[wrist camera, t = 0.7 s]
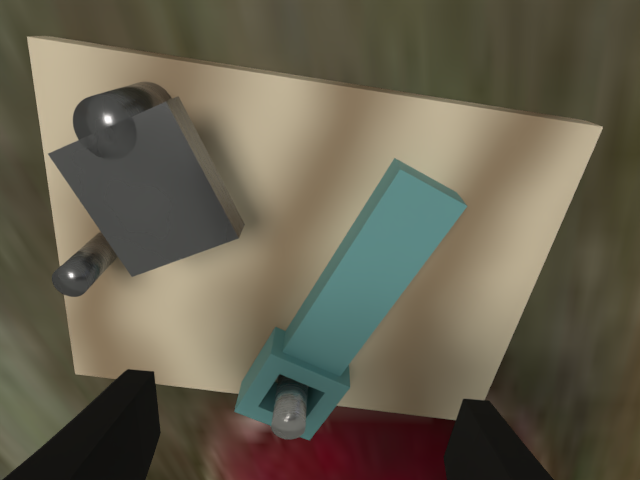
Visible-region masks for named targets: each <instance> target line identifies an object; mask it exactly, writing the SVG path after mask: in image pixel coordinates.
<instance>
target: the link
mask: <svg viewBox="0 0 640 480" xmlns="http://www.w3.org/2000/svg"><path fill="white" fill-rule="evenodd" d="M466 207H467V205H466V204H465V202H464V201H463V200H462V198H461V197H460V196H459V195H458V193H457V192H455V191H453V190H452V189H450V188H448V187H446V186H444V185H443V184H441V183H439V182H437V181H435V180H434V179H432V178H430V177H428V176H426V175H425V174H423V173H421V172H419V171H417V170H416V169H414V168H412V167H410V166H408V165H406V164H405V163H403V162H401V161H399V160H397V159H396V158H394V160H393V161H392V163H391V164H390V166H389V168H388V169H387V171H386V172H385V174H384V176H383V177H382V179H381V180H380V182H379V183H378V185H377V187H376V188H375V190H374V191H373V193H372V195H371V196H370V198H369V199H368V201H367V203H366V204H365V206H364V207H363V209H362V210H361V212H360V214H359V215H358V217H357V218H356V220H355V222H354V223H353V225H352V226H351V228H350V229H349V231H348V233H347V234H346V236H345V237H344V239H343V241H342V242H341V244H340V245H339V247H338V249H337V250H336V252H335V253H334V255H333V256H332V258H331V260H330V261H329V263H328V264H327V266H326V268H325V269H324V271H323V272H322V274H321V275H320V277H319V279H318V280H317V282H316V283H315V285H314V287H313V288H312V290H311V291H310V293H309V295H308V296H307V298H306V299H305V301H304V302H303V304H302V306H301V307H300V309H299V310H298V312H297V314H296V315H295V317H294V318H293V320H292V321H291V323H290V325H289V326H288V328H287V329H286V331H284V330H282V329H279V328H277V327H275V328H274V330H273V332H272V333H271V335H270V337H269V338H268V340H267V341H266V343H265V345H264V346H263V348H262V350H261V351H260V353H259V354H258V356H257V358H256V359H255V361H254V363H253V364H252V366H251V367H250V369H249V371H248V372H247V374H246V376H245V377H244V379H243V380H242V382H241V386H240V390H239V395H238V399H237V403H236V407H235V411H234V412H237V413H239V414H242V415H244V416H247V417H249V418H252V419H255V420H257V421H260V422H262V423H265V424H268V425H270V426H271V424H272V417H273V410H274V403H275V396H276V389H277V383H276V382H275V380H276V379H277V377H278V376H279V374H281V375H283V376H286V377H288V378H290V379H293V380H295V381H298V382H300V383H303V384H305V385H307V386H309V387H308V393H307V410H306V426H305V432H304V433H303V434H302V435H301V436H300V437H301V438H304V439H307V440H310V439H311V438H312V437H313V435H314V434H315V433H316V431H317V430H318V429H319V427H320V426H321V425H322V424H323V422H324V421H325V420H326V418H327V417H328V416H329V415H330V413H331V412H332V411H333V409H334V408H335V407H336V406H337V404H338V403H339V402H340V400H341V399H342V398H343V396H344V395H345V394H346V393H347V391H348V390H349V389H350V373H349V364H350V363H351V361H352V360H353V358H354V357H355V356H356V354H357V353H358V352H359V350H360V349H361V348H362V346H363V345H364V344H365V342H366V341H367V340H368V338H369V337H370V336H371V334H372V333H373V332H374V330H375V329H376V328H377V326H378V325H379V324H380V322H381V321H382V320H383V318H384V317H385V316H386V314H387V313H388V312H389V310H390V309H391V308H392V306H393V305H394V304H395V302H396V301H397V300H398V298H399V297H400V296H401V294H402V293H403V292H404V290H405V289H406V288H407V286H408V285H409V284H410V282H411V281H412V280H413V278H414V277H415V276H416V274H417V273H418V272H419V270H420V269H421V268H422V266H423V265H424V264H425V262H426V261H427V260H428V258H429V257H430V256H431V254H432V253H433V251H434V250H435V249H436V247H437V246H438V245H439V243H440V242H441V241H442V239H443V238H444V237H445V235H446V234H447V233H448V231H449V230H450V229H451V227H452V226H453V225H454V223H455V222H456V221H457V219H458V218H459V217H460V215H461V214H462V213H463V211H464V210H465V209H466Z"/></svg>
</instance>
